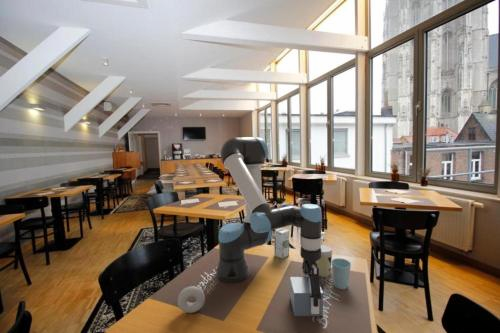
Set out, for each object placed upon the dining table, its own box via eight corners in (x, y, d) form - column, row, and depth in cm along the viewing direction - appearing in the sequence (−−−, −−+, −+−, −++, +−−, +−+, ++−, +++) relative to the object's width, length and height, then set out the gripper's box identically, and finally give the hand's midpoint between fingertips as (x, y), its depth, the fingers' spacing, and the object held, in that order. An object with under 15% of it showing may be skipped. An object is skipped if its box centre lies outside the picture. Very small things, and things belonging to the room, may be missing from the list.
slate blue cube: (294, 316, 87) (294, 293, 86) (290, 297, 97) (290, 276, 96) (322, 315, 87) (323, 292, 86) (315, 297, 97) (315, 276, 96)
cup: (343, 279, 109) (344, 257, 108) (354, 289, 101) (354, 266, 100) (328, 281, 108) (328, 259, 106) (337, 292, 100) (337, 268, 99)
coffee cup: (333, 278, 110) (333, 253, 109) (312, 276, 112) (312, 251, 111) (330, 267, 119) (331, 244, 118) (311, 266, 121) (311, 243, 120)
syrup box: (281, 252, 137) (280, 227, 135) (289, 255, 133) (289, 230, 131) (274, 255, 133) (274, 230, 132) (282, 259, 129) (282, 232, 127)
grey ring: (177, 317, 88) (176, 291, 87) (178, 310, 91) (177, 285, 90) (205, 313, 89) (204, 287, 88) (205, 307, 93) (204, 282, 92)
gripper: (331, 263, 77) (330, 325, 79) (313, 233, 102) (312, 281, 104) (307, 263, 77) (307, 325, 79) (295, 233, 102) (295, 281, 104)
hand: (310, 300), depth 92 cm, fingers open, 13 cm apart
